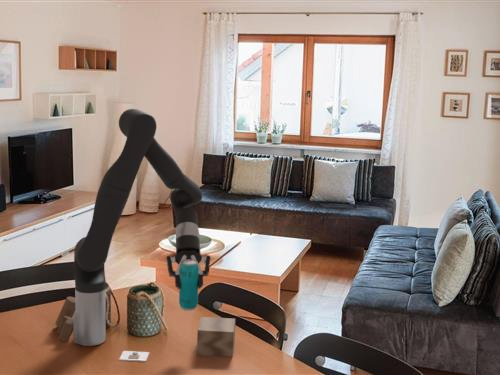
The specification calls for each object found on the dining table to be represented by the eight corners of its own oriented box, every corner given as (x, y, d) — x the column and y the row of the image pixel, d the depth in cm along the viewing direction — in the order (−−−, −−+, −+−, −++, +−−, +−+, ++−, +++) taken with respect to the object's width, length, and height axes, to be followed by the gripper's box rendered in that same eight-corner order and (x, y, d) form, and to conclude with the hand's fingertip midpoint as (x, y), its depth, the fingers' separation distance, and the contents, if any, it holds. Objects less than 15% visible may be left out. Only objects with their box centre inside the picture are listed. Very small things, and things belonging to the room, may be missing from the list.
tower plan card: (119, 360, 198) (119, 359, 198) (123, 351, 204) (123, 350, 204) (145, 361, 198) (145, 360, 198) (149, 353, 204) (149, 351, 203)
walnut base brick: (196, 354, 204) (197, 330, 202) (200, 340, 215) (201, 316, 213) (232, 356, 204) (233, 332, 202) (234, 342, 214) (235, 318, 213)
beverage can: (183, 303, 209) (183, 258, 207) (200, 306, 208) (201, 260, 205) (176, 310, 204) (177, 263, 201) (194, 312, 203) (194, 265, 200)
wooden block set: (70, 349, 209) (82, 322, 207) (44, 338, 209) (56, 310, 206) (84, 325, 227) (96, 299, 225) (61, 314, 226) (72, 289, 224)
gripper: (165, 233, 208) (166, 282, 199) (211, 233, 210) (213, 282, 201) (164, 245, 214) (165, 293, 205) (209, 245, 216) (211, 292, 207)
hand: (189, 287), depth 203 cm, fingers closed on beverage can, 5 cm apart
